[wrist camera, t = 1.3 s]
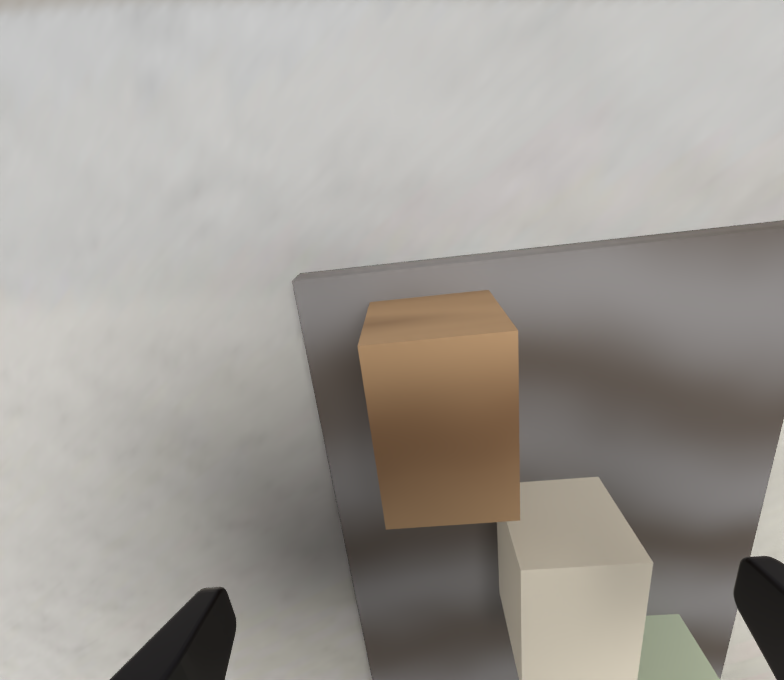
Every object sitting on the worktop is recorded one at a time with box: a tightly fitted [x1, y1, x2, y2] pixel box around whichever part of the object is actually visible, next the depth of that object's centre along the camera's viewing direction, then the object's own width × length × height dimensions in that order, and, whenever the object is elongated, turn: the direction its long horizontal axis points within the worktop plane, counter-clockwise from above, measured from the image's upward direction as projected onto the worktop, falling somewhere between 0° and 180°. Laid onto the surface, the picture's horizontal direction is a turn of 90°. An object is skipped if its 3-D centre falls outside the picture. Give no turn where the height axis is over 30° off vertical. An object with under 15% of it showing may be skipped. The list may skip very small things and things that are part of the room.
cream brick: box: [497, 477, 653, 680], centre depth 16 cm, size 6×4×4 cm, turn 7°
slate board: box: [292, 221, 784, 680], centre depth 19 cm, size 24×17×1 cm
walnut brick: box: [358, 290, 520, 530], centre depth 14 cm, size 6×4×4 cm, turn 7°
